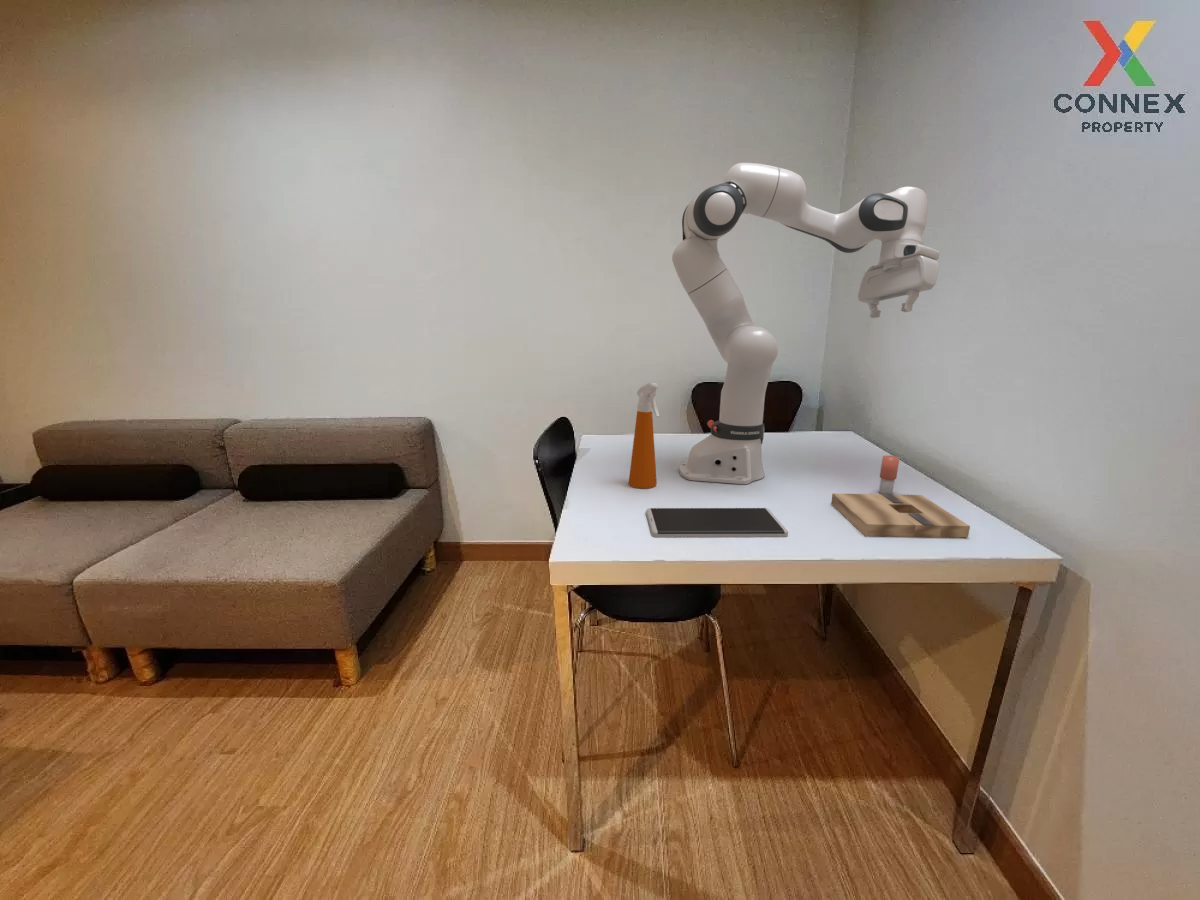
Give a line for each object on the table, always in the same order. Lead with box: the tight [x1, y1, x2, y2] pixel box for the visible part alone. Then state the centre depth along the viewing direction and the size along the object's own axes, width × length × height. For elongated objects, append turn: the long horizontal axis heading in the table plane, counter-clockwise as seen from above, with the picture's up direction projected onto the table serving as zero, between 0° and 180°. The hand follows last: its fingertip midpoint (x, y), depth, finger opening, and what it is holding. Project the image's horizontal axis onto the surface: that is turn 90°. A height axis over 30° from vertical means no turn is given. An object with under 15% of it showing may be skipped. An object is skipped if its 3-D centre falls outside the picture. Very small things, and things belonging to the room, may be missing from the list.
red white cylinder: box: [878, 455, 900, 494], centre depth 133 cm, size 4×4×9 cm
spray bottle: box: [628, 382, 660, 490], centre depth 134 cm, size 7×11×26 cm, turn 22°
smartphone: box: [645, 507, 789, 538], centre depth 115 cm, size 13×27×2 cm, turn 91°
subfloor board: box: [830, 492, 971, 538], centre depth 117 cm, size 20×18×3 cm
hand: (889, 314), depth 135 cm, fingers open, 8 cm apart
